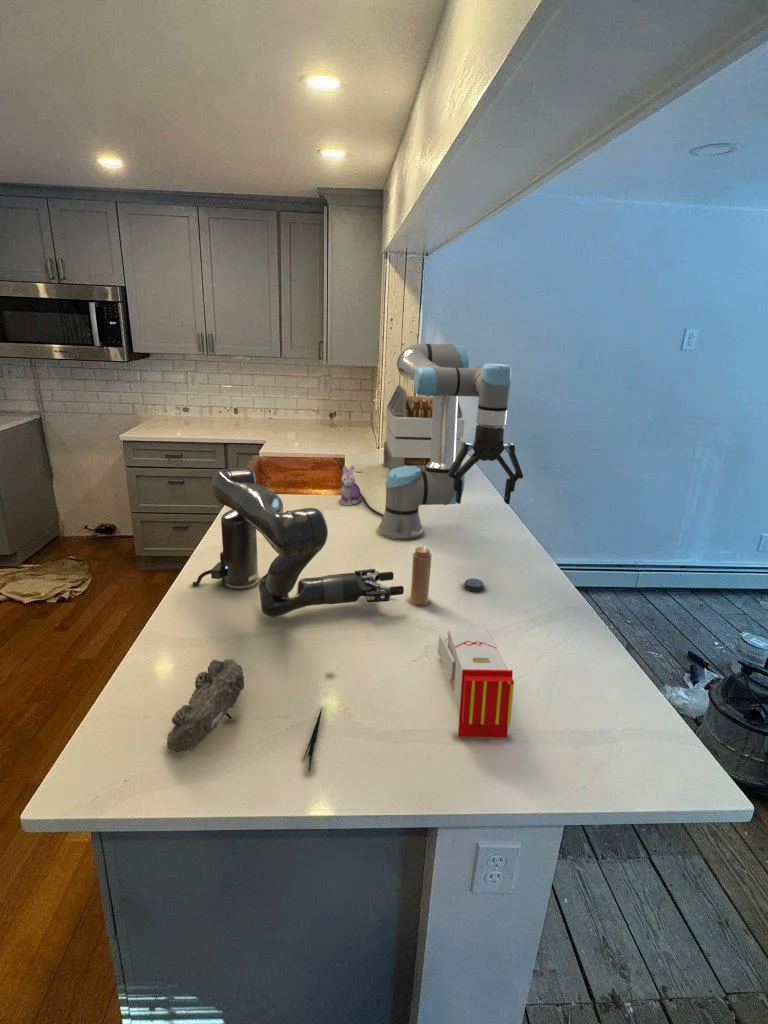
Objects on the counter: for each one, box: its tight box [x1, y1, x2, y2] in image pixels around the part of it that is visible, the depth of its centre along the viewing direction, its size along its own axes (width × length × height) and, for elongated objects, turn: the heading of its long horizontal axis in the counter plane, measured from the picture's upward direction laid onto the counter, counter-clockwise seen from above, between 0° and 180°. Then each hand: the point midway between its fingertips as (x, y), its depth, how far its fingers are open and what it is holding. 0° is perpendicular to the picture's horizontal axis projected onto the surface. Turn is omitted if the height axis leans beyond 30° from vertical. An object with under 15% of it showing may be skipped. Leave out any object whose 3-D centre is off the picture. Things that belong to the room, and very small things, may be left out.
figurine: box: [339, 464, 362, 506], centre depth 227 cm, size 9×10×15 cm
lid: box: [464, 578, 485, 593], centre depth 163 cm, size 5×5×2 cm
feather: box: [301, 673, 332, 771], centre depth 108 cm, size 2×28×2 cm
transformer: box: [383, 384, 465, 471], centre depth 268 cm, size 34×33×41 cm
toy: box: [437, 628, 515, 738], centre depth 117 cm, size 12×13×30 cm
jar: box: [409, 546, 432, 607], centre depth 152 cm, size 5×5×15 cm
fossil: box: [166, 658, 245, 754], centre depth 106 cm, size 22×10×15 cm
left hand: (397, 582), depth 151 cm, fingers open, 8 cm apart
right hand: (482, 502), depth 155 cm, fingers open, 13 cm apart
